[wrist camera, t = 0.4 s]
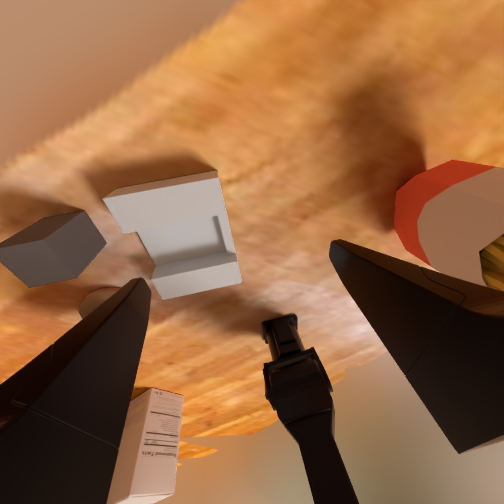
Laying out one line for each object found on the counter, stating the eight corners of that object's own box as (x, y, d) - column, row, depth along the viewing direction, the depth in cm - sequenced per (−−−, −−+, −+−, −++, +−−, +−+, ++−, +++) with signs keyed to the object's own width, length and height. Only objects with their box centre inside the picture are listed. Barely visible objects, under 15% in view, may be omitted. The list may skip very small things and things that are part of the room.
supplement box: (159, 410, 48) (141, 510, 36) (124, 403, 43) (90, 516, 31) (185, 395, 46) (175, 495, 33) (152, 386, 41) (126, 499, 29)
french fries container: (389, 241, 29) (567, 362, 15) (394, 172, 23) (706, 261, 9) (419, 229, 29) (630, 341, 14) (432, 155, 23) (824, 219, 8)
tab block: (106, 243, 22) (76, 278, 17) (70, 250, 22) (29, 287, 17) (84, 210, 20) (42, 239, 15) (43, 217, 20) (-13, 250, 15)
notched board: (239, 267, 27) (242, 282, 25) (167, 283, 27) (162, 300, 24) (217, 170, 20) (218, 177, 17) (116, 188, 19) (102, 198, 17)
